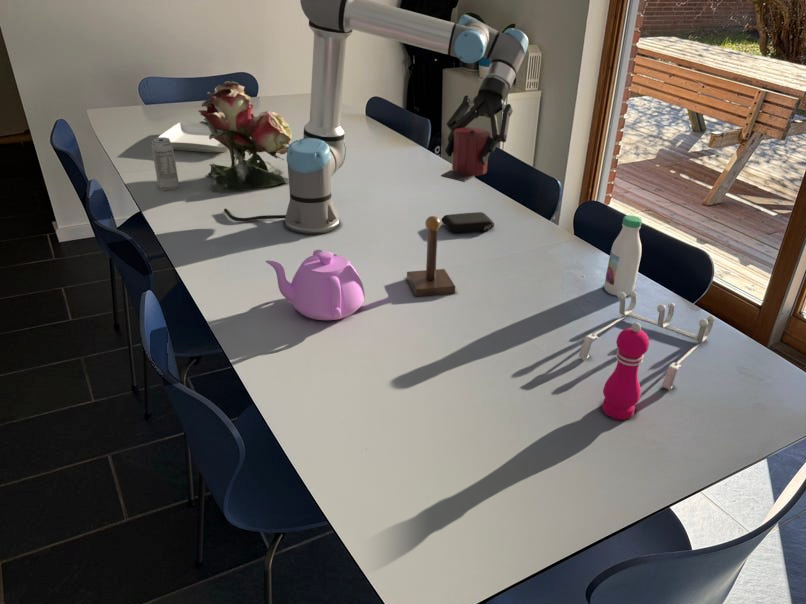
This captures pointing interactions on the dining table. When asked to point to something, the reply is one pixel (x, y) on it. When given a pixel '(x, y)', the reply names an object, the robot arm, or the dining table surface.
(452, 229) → the carrying case
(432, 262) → the hat stand
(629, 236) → the milk bottle
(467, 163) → the cap
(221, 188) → the rose bouquet
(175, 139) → the square plate
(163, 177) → the energy drink can
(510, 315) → the dining table surface
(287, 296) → the teapot
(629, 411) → the pepper mill
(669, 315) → the over door rack
